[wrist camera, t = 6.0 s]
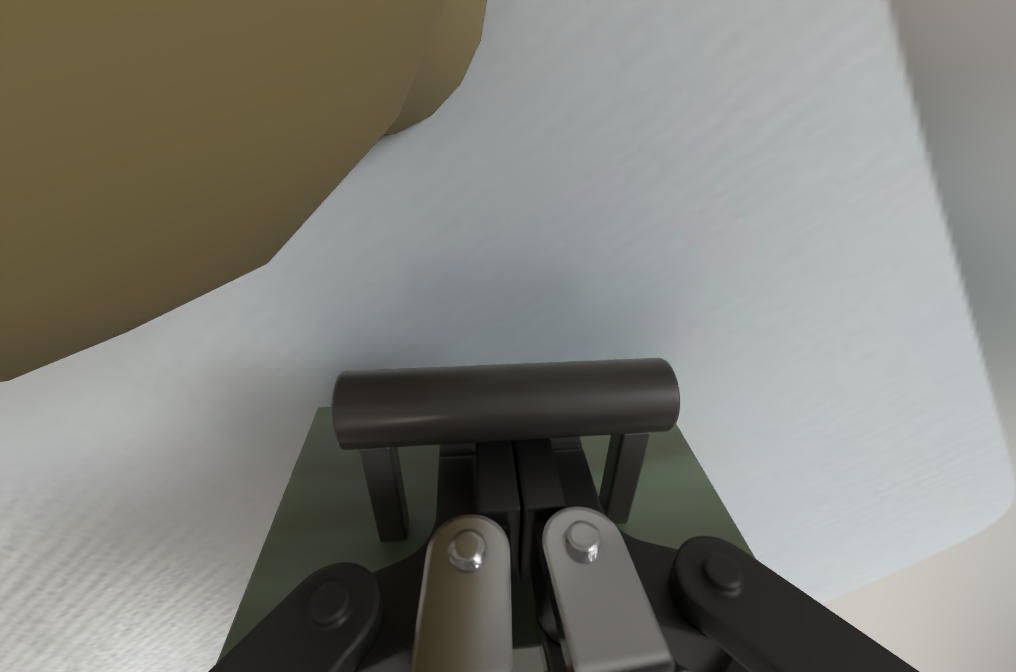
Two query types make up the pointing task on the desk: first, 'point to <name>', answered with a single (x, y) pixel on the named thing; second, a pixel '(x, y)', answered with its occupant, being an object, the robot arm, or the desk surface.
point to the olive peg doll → (188, 143)
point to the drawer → (471, 419)
